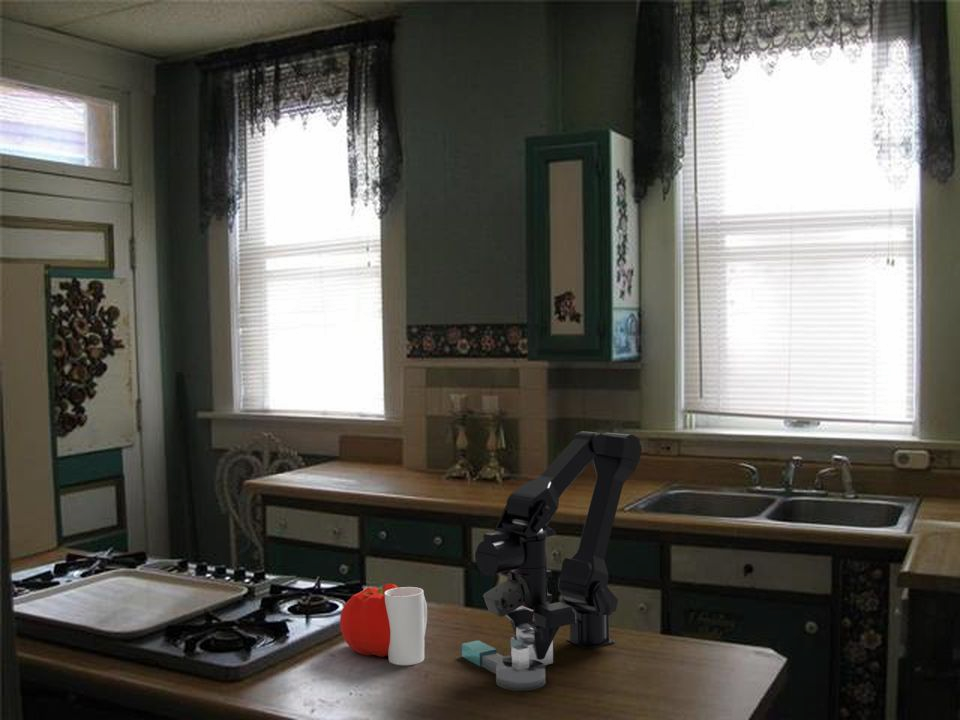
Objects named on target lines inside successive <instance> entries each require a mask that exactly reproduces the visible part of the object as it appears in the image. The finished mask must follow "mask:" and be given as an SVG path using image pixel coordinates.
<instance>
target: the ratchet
mask: <svg viewBox="0 0 960 720" xmlns="http://www.w3.org/2000/svg"><path fill="white" fill-rule="evenodd" d="M461 657H462V658H464V659H466V660H467V661H469V662H471V663H473V664H475V665H476V666H478V667H482V668H484V669H485V670H487V671H489V672H490V673H493V674H495V683H496V685H497V686H498V687H499V688H501V689H504V690H508V691H513V692H523V691H524V692H525V691H533V690H537V689H540V688H543V686H545V684H546V665H544V664H543V663H542V662H539V661H537V660H532V659H529V648H528V647H526V646H524V645H518V646H513V647H512V655H511V654H510V655H508V654H507V655H502V654H501V653H498V652H497V648H495V647H493V646H491V645H489V644H487V643H484V642H482V641H481V640H480V639H478V640H474V641H473V640H472V641H468V642H464V643H461Z"/></svg>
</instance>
